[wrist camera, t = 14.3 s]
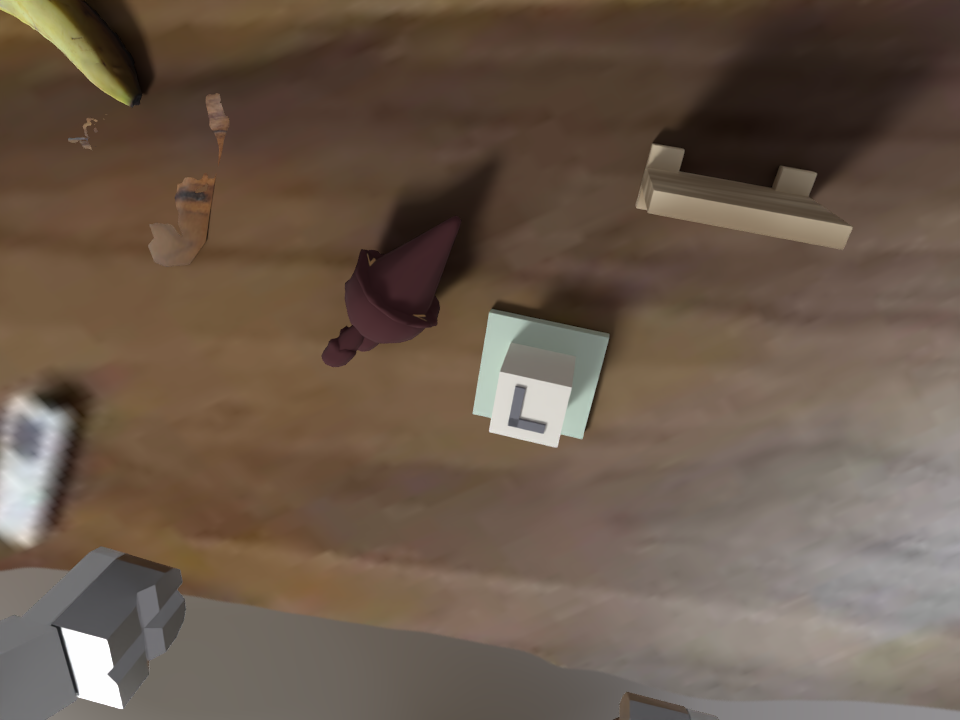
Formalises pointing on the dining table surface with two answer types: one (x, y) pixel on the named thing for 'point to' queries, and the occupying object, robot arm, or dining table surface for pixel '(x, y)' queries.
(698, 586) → the dining table surface
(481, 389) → the green tile
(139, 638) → the robot arm
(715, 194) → the oak screen
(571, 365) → the letter cube
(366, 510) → the dining table surface
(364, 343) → the maroon gnome figurine
